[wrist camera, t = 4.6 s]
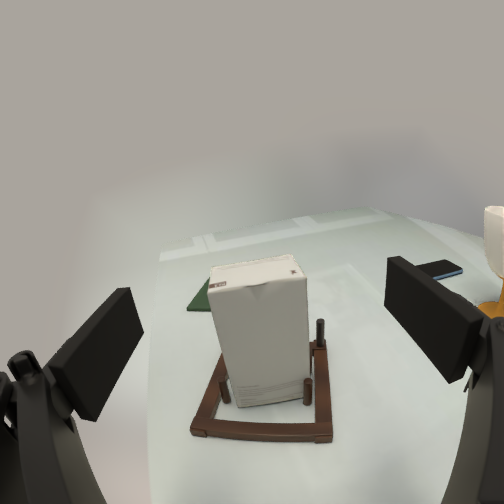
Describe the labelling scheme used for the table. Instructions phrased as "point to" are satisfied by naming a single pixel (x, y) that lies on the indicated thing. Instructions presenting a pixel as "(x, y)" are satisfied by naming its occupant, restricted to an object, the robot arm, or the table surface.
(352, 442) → the table surface
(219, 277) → the cosmetic box
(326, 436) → the rack
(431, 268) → the smartphone
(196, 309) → the mat
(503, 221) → the cup
